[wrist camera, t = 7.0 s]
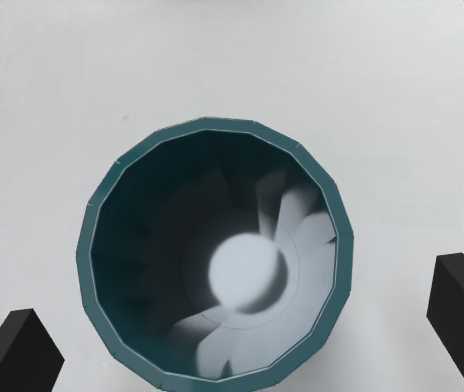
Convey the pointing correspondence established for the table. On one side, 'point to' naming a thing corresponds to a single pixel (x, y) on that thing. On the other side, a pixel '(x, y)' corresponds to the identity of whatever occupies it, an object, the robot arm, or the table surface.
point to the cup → (215, 257)
